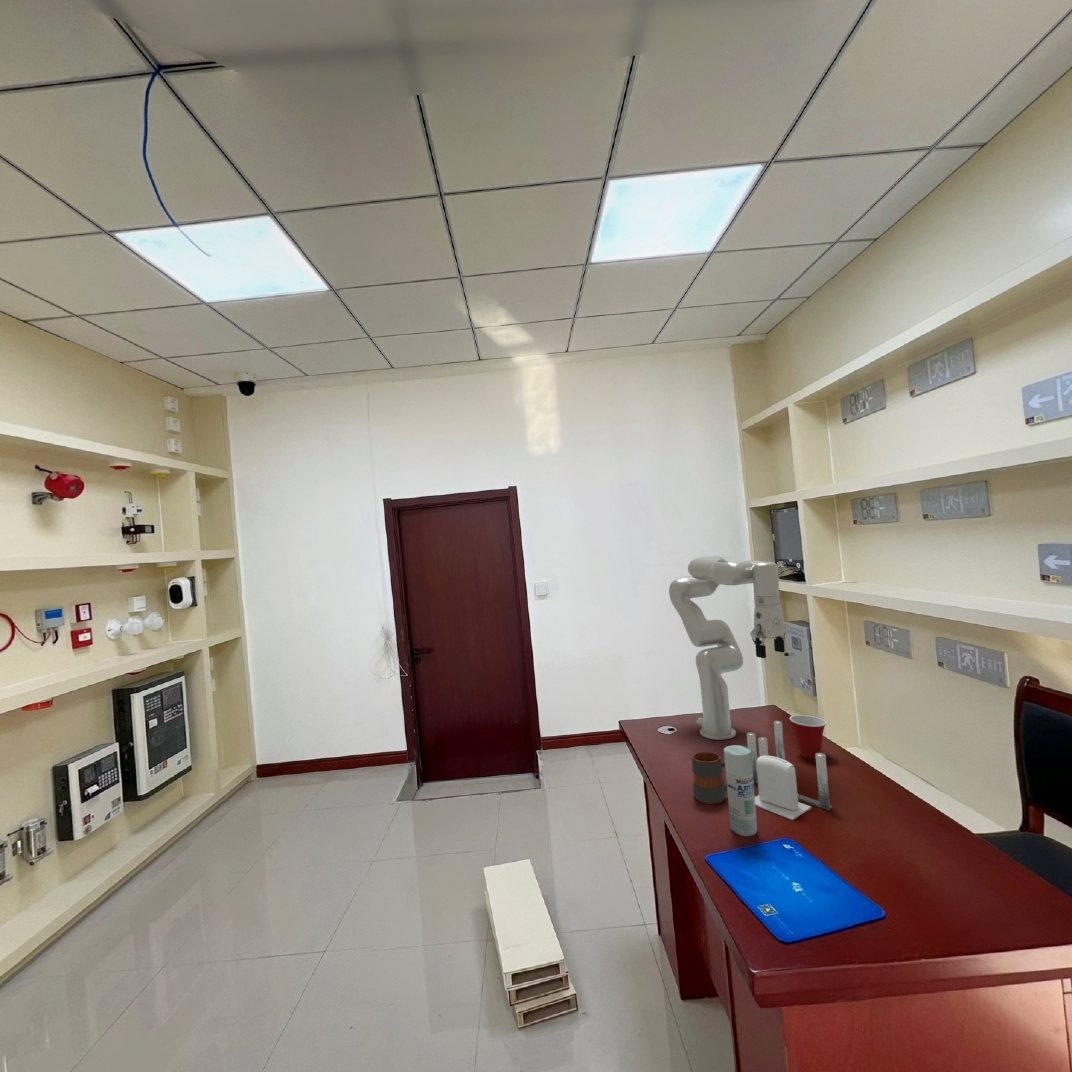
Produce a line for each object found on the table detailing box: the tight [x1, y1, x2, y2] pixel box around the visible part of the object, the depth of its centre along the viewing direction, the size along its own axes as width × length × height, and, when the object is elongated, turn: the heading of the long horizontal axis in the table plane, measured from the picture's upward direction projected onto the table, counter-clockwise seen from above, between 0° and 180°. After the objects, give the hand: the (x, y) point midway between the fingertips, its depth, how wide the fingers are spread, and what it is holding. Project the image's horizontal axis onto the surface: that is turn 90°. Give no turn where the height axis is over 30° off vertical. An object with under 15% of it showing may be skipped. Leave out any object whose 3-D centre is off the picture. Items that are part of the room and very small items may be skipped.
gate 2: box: [757, 736, 833, 811], centre depth 152 cm, size 20×2×14 cm, turn 34°
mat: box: [755, 794, 812, 821], centre depth 148 cm, size 13×9×1 cm
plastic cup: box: [789, 714, 827, 760], centre depth 178 cm, size 11×11×12 cm
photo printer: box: [756, 755, 799, 810], centre depth 148 cm, size 10×4×12 cm, turn 38°
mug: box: [691, 751, 728, 805], centre depth 155 cm, size 9×12×12 cm
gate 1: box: [746, 720, 786, 785], centre depth 168 cm, size 3×17×14 cm, turn 124°
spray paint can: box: [723, 744, 758, 837], centre depth 138 cm, size 6×6×20 cm
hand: (770, 654), depth 174 cm, fingers open, 9 cm apart
